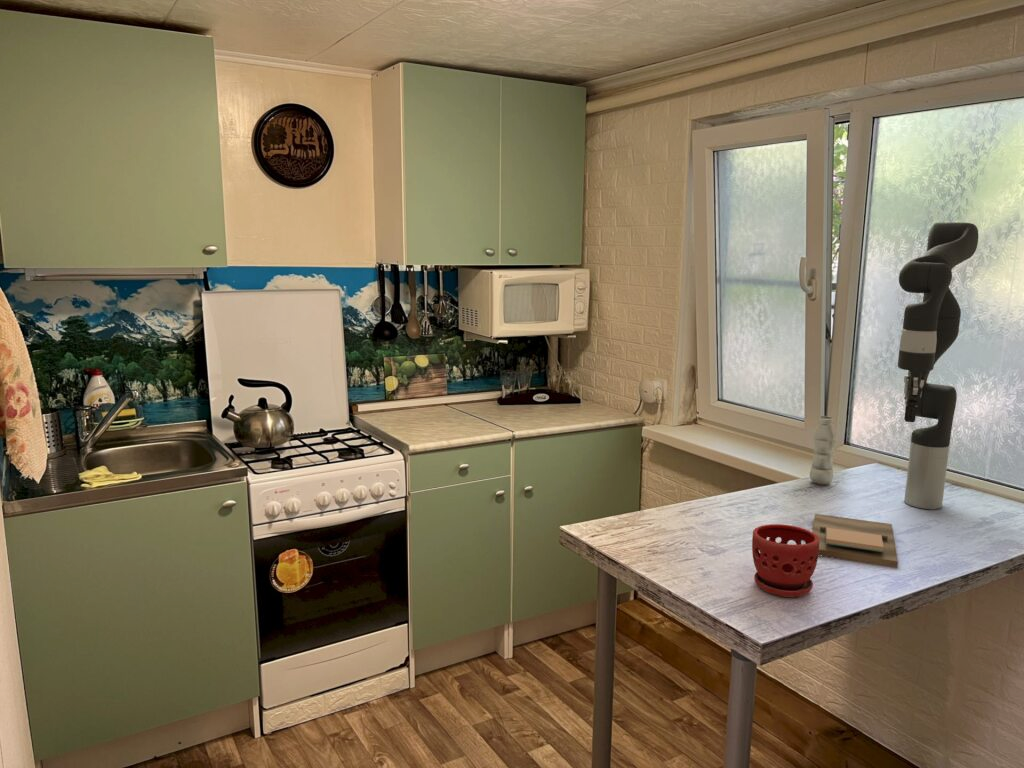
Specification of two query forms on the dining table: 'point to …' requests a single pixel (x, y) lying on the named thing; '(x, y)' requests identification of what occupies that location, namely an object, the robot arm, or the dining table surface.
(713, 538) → the dining table surface
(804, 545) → the plant pot
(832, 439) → the plastic bottle
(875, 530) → the board
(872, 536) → the tile
